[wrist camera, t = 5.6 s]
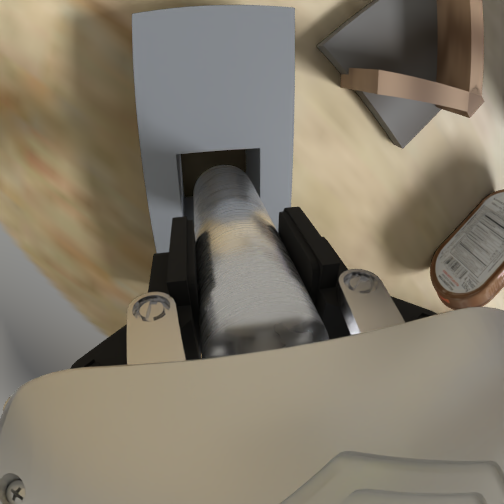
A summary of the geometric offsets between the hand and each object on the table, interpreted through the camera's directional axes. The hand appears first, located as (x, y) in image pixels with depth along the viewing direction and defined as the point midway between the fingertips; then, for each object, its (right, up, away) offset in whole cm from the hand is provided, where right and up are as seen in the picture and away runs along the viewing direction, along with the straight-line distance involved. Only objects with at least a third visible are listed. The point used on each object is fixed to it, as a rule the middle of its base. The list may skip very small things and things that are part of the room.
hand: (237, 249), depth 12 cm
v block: (+12, +15, +6) cm, 21 cm away
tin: (+23, +3, +17) cm, 29 cm away
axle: (-1, +3, +5) cm, 6 cm away
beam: (-2, +6, +9) cm, 11 cm away
